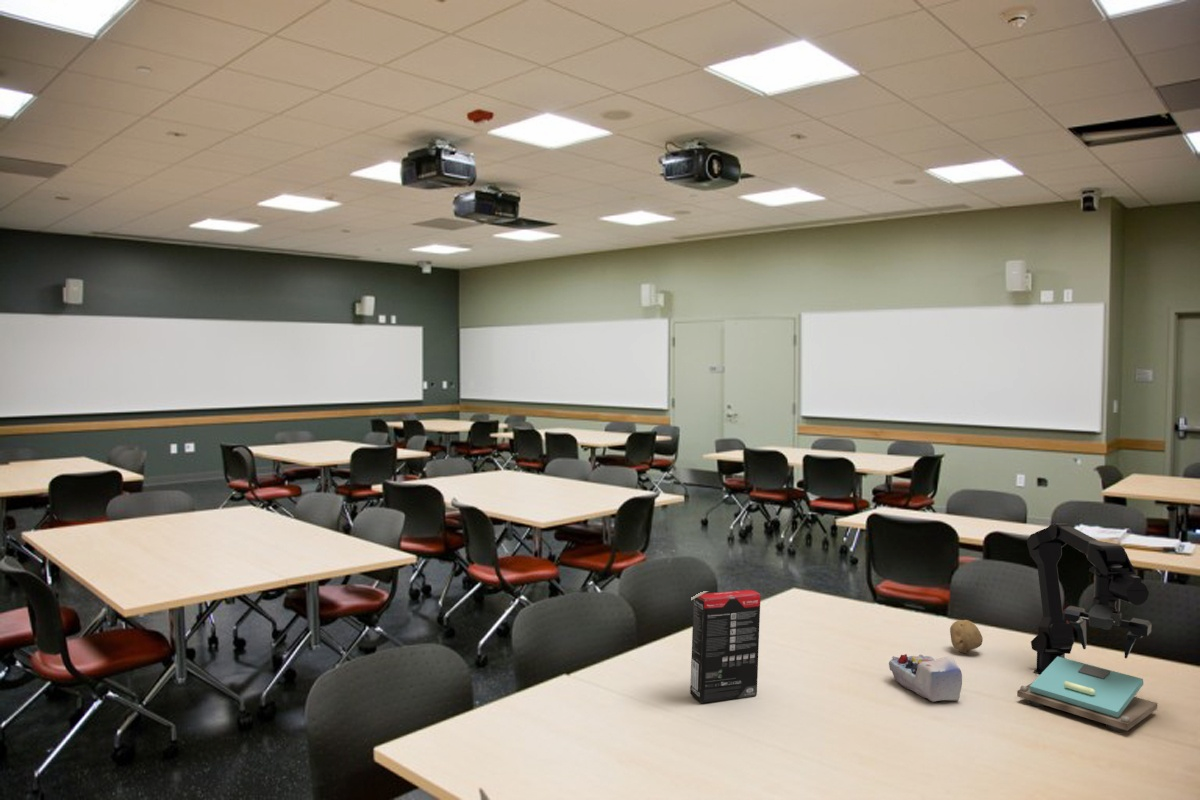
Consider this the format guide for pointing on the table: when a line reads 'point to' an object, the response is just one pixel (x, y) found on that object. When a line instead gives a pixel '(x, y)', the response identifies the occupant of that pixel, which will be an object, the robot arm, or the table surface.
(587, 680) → the table surface
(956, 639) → the potato
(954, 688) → the cell model
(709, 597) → the graphics card box
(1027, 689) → the base
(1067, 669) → the plate
